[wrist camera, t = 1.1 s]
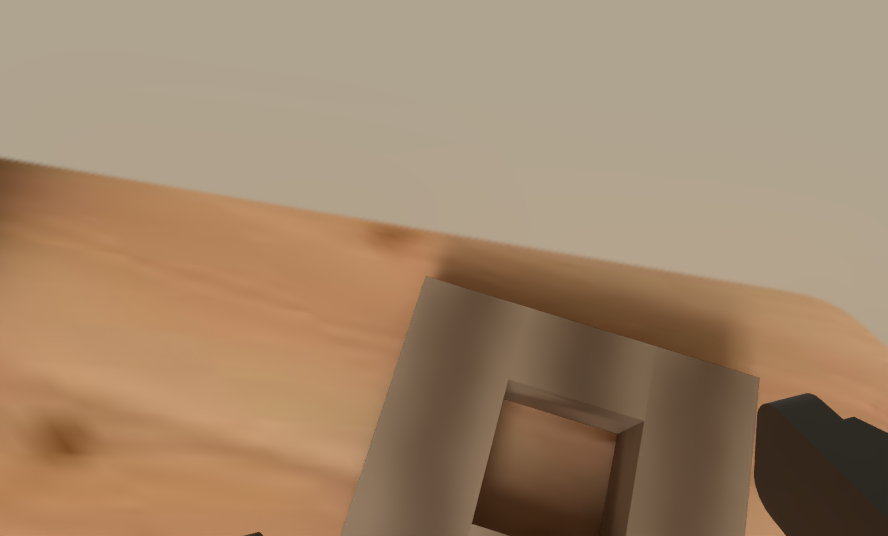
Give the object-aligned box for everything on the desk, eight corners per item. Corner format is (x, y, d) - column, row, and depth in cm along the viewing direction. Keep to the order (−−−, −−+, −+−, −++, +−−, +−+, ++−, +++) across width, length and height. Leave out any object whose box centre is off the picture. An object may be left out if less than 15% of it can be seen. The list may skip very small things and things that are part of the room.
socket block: (331, 577, 32) (326, 580, 29) (421, 302, 38) (425, 276, 35) (688, 690, 32) (728, 709, 28) (722, 394, 38) (759, 377, 34)
